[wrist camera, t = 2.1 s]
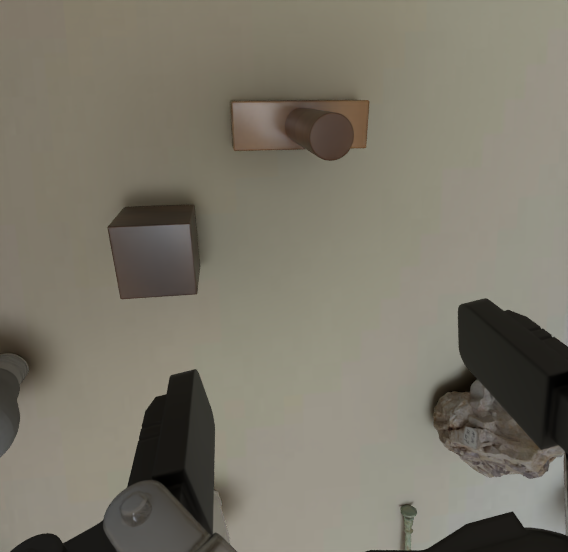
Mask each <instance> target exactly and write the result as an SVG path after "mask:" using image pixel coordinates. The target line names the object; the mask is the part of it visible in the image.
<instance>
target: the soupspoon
mask: <svg viewBox="0 0 568 552" xmlns="http://www.w3.org/2000/svg"><path fill="white" fill-rule="evenodd" d="M401 513H402V514H403V516H404V525H405V527H406V528H405V529H404V531H405V550H408V551H411V533H412V532H413V529H411V527H412V525H413V519H414V516H416V514H417V510H416V508H414V507H413V506H410V505H405V506H402V507H401Z"/></svg>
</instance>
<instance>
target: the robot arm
mask: <svg viewBox="0 0 568 552" xmlns="http://www.w3.org/2000/svg"><path fill="white" fill-rule="evenodd" d="M458 337H459V352H460V355H461V358H462V360H463V362H464V364H465V365H466V367H467V368H468V369H469V370H470V371H471V372H472V374H473V375H474V376H475V377H476V378H477V379H478V380H479V381H480V382H481V384H482V385H483V386H484V387H485V388H486V389H487V390H488V391H489V393H490V394H491V395H492V396H493V397H494V398H495V399H496V400H497V401H498V403H499V404H500V405H501V406H502V407H503V408H504V409H505V410H506V411H507V413H508V414H509V415H510V416H511V417H512V418H513V419H514V420H515V421H516V423H517V424H518V425H519V426H520V427H521V428H522V429H523V430H524V431H525V433H526V434H527V435H528V436H529V437H530V438H531V439H532V440H533V441H534V443H535V444H536V445H537V446H538V447H539V448H540V449H541V450H543V449H547V448H550V447H554V446H558V445H559V446H560V447H561V448H562V449H563V450H564V451H565V454H564V485H565V515H566V535H563V534H560V533H557V532H553V531H548V530H544V529H537V528H524V527H523V525H522V524H521V523H520V521H519V520H518V518H517V517H516V515H515V514H514V513H513V512H509V513H505V514H502V515H498V516H494V517H491V518H487V519H483V520H480V521H476V522H472V523H469V524H466V525H464V526H463V527H461V528H460V529H458V530H457V531H455V532H453V533H452V534H450V535H449V536H447V537H446V538H444V539H442V540H441V541H439V542H438V543H436V544H434V545H433V546H431V547H430V548H428V549H425V550H420V551H408V550H370V551H366V552H568V347H567V346H566V345H565V344H563V343H562V342H560V341H559V340H558V339H556V338H555V337H552V336H551V334H549V333H548V332H547V331H545V330H544V329H541V328H540V326H539V325H537V324H536V323H534V322H533V321H532V320H530V319H529V318H528V317H526V316H523V315H520V314H518V313H515V312H512V311H510V310H506V311H503V310H502V309H500V308H499V307H498V306H496V305H495V304H494V303H493V302H491V301H490V300H488V299H480V300H476V301H472V302H468V303H464V304H461V305H460V306H459V308H458ZM214 453H215V424H214V418H213V413H212V409H211V406H210V404H209V401H208V398H207V395H206V392H205V389H204V387H203V384H202V381H201V378H200V375H199V373H198V371H197V370H196V369H194V370H190V371H186V372H182V373H178V374H174V375H171V376H170V379H169V384H168V390H167V394H166V395H162V396H158V397H155V399H154V400H153V401H152V403H151V404H150V406H149V407H148V409H147V410H146V411H145V415H144V419H143V424H142V429H141V432H140V436H139V441H138V445H137V449H136V453H135V457H134V461H133V465H132V470H131V474H130V478H129V482H128V486H127V488H126V489H125V490H123V491H122V492H121V493H120V494H118V495H117V496H116V497H115V499H114V500H113V501H112V502H111V504H110V505H109V507H108V509H107V510H106V513H105V515H104V519H103V521H101V522H100V523H99V524H97V525H95V526H94V527H92V528H90V529H88V530H87V531H85V532H83V533H81V534H79V535H78V536H76V537H74V538H72V539H70V540H69V541H67V542H65V543H62V541H61V540H60V538H59V537H57V536H56V535H54V534H49V533H47V534H40V535H36V536H34V537H31V538H29V539H27V540H25V541H24V542H22V543H21V544H19V545H18V546H17V547H15V548H14V549H13V550H12V551H11V552H237V551H236V550H235V549H234V548H233V547H232V546H231V545H230V544H229V543H228V542H227V541H226V540H225V539H224V538H223V537H222V536H221V535H219V534H218V533H214V534H213V505H214Z"/></svg>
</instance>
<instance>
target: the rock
mask: <svg viewBox="0 0 568 552" xmlns="http://www.w3.org/2000/svg"><path fill="white" fill-rule="evenodd" d="M434 411H435V412H434V414H433V418H434V427H435V429H436V430H437V431H438V434H439V439H440V441H441V442H442V443H443V445H444V446H445V447H446V448H447V449H448V450H450V451H453V452H454V453H456V454H458V455H459V456H460V458H461V459H462V460H463V461H464V462H466V463H467V464H468V465H469V466H470V467H472V468H473V469H474V470H476V471H477V472H479V473H481V474H483V475H485V476H487V477H489V478H492V477H494V476H495V477H501V476H502V475H507V474H523V476H525V477H527V478H536V477H541V476H543V474H544V473H545V472H546V471H548V468H549V463H550V462H552V461H553V460H554V459H555V458H556V457H562V455H563V454H565V451H564V450H563V449H562V448H561V447H560V446H559V445H558V446H554V447H550V448H547V449H543V450H541V449H540V448H539V447H538V446H537V445H536V444H535V443H534V441H533V440H532V439H531V438H530V437H529V436H528V435H527V434H526V433H525V431H524V430H523V429H522V428H521V427H520V426H519V425H518V424H517V423H516V421H515V420H514V419H513V418H512V417H511V416H510V415H509V414H508V413H507V411H506V410H505V409H504V408H503V407H502V406H501V405H500V404H499V403H498V401H497V400H496V399H495V398H494V397H493V396H492V395H491V394H490V393H489V391H488V390H487V389H486V388H485V387H484V386H483V385H482V384H481V382H480V381H479V380H478V379H477V380H476V381H474V383H473V384H472V385H471V389H470V393H469V392H463V393H460V392H456V391H453V392H451V393H450V392H448V393H446V394H445V395H444V396H442V397H441V398H440V399H439V401H438V403H437V405H436V406H435V407H434Z"/></svg>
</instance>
